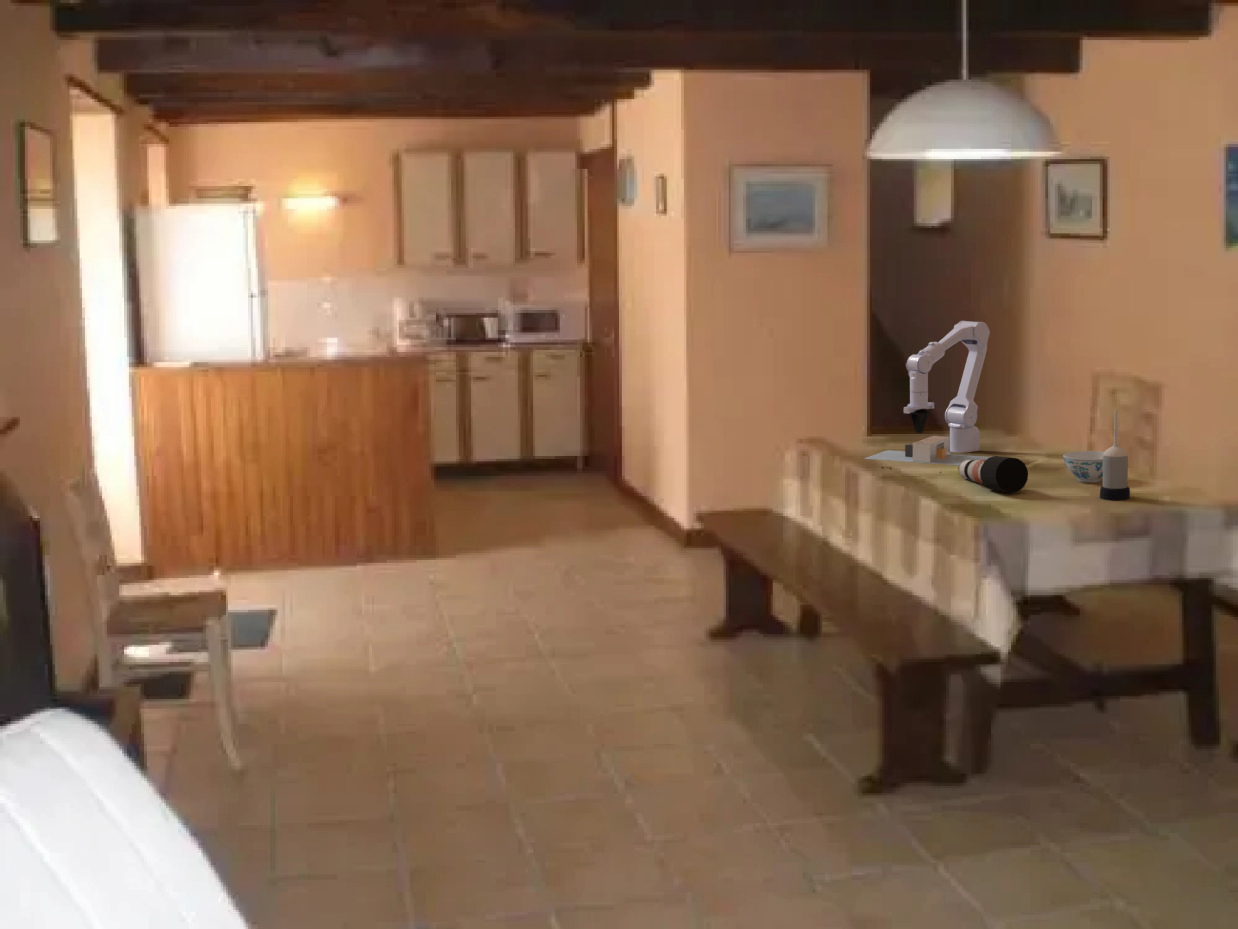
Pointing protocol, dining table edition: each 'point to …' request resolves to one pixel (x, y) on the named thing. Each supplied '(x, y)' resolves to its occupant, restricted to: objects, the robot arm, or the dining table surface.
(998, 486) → the striped cylinder
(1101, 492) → the nozzle bottle
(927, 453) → the grey arch block
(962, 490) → the dining table surface
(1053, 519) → the dining table surface
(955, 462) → the board
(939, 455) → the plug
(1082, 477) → the chinaware
